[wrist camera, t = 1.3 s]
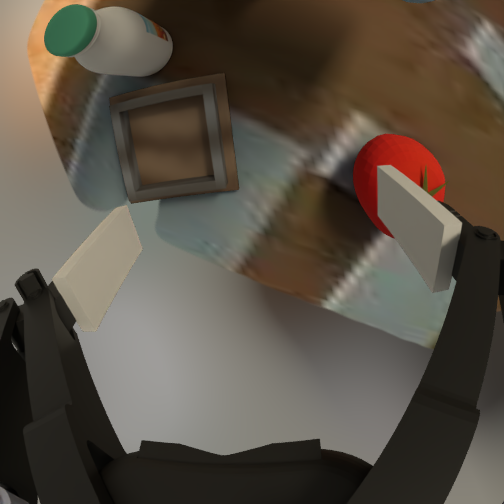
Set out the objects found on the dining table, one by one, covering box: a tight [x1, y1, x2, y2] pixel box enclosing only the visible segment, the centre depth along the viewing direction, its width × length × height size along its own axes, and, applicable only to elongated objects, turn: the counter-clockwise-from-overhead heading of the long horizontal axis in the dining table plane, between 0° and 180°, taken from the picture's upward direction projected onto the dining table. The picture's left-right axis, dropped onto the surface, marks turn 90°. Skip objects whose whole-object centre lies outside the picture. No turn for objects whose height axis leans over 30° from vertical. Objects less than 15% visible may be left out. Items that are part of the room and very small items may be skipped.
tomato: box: [353, 134, 449, 238], centre depth 35 cm, size 12×14×11 cm
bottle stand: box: [109, 73, 239, 204], centre depth 37 cm, size 16×16×4 cm
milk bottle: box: [44, 4, 173, 77], centre depth 23 cm, size 8×8×20 cm
